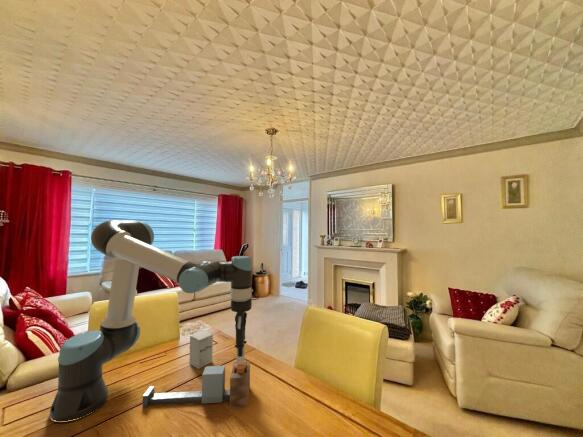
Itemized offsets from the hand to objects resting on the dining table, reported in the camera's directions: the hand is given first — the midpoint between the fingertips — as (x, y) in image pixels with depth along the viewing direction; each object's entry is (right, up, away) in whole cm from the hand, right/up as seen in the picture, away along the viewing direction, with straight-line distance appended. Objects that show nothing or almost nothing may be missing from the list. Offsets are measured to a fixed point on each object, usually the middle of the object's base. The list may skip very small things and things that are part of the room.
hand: (240, 363), depth 90 cm
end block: (0, -12, 0) cm, 12 cm away
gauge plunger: (0, -7, 0) cm, 7 cm away
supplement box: (-23, -13, +22) cm, 34 cm away
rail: (-17, -12, -2) cm, 21 cm away
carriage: (-9, -12, -1) cm, 15 cm away
